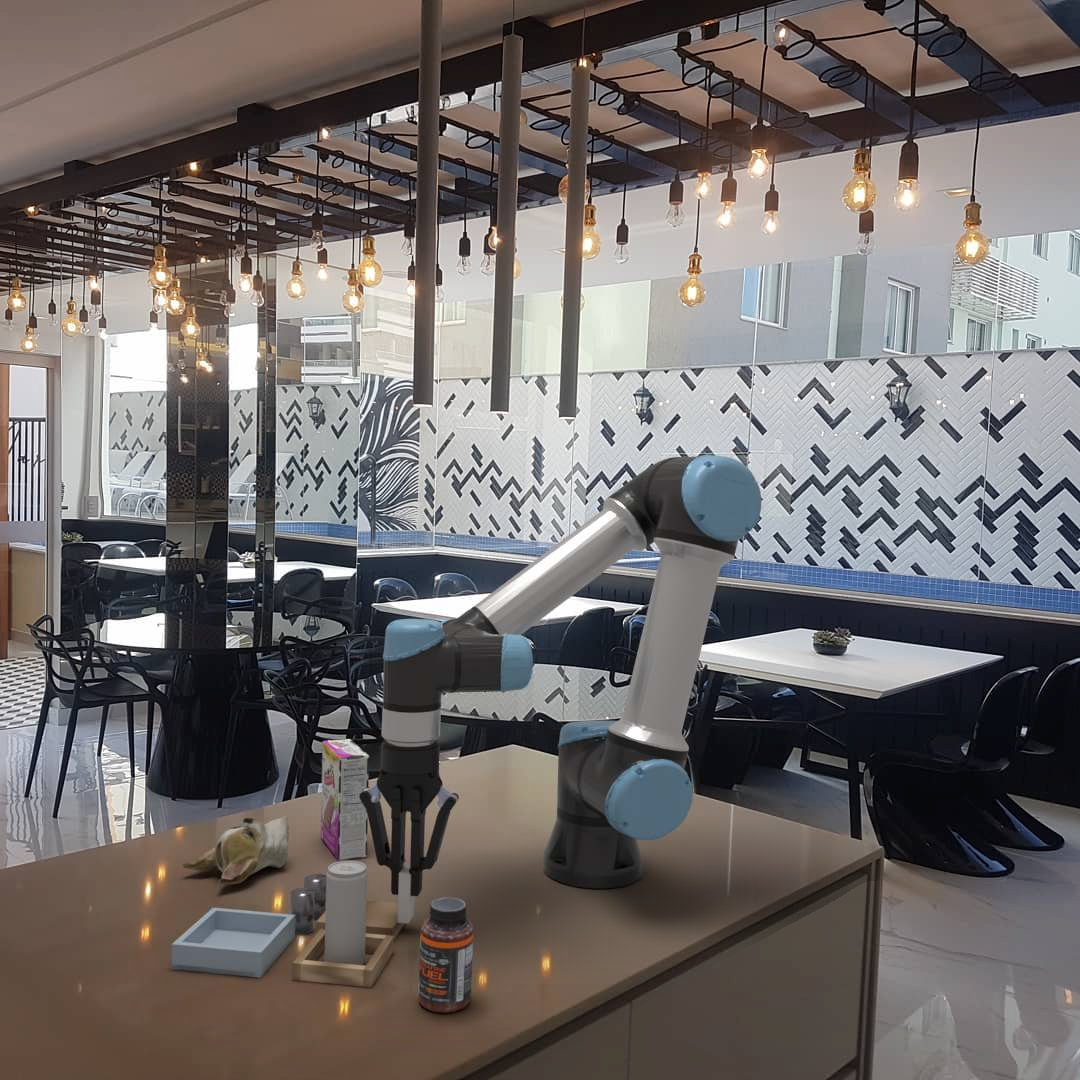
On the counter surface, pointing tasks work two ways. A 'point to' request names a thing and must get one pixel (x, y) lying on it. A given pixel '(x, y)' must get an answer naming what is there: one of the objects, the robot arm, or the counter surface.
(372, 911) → the board
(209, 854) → the ceramic sculpture
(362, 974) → the collar
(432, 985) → the supplement bottle
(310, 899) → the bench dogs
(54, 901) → the counter surface
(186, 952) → the tray
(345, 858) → the candy bar box
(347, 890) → the beverage can
